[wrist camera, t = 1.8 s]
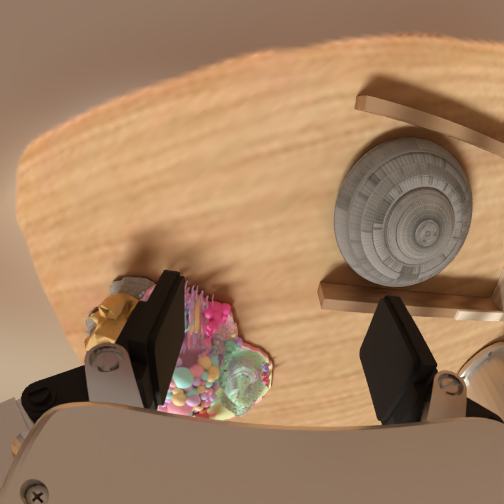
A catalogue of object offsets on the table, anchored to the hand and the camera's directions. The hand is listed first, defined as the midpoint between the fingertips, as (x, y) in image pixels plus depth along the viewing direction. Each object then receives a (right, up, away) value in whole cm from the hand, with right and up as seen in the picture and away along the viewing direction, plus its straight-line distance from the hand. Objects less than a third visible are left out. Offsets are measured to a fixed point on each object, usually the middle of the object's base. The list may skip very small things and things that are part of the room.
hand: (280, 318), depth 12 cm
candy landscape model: (-10, -11, +26) cm, 30 cm away
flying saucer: (+14, +6, +17) cm, 23 cm away
